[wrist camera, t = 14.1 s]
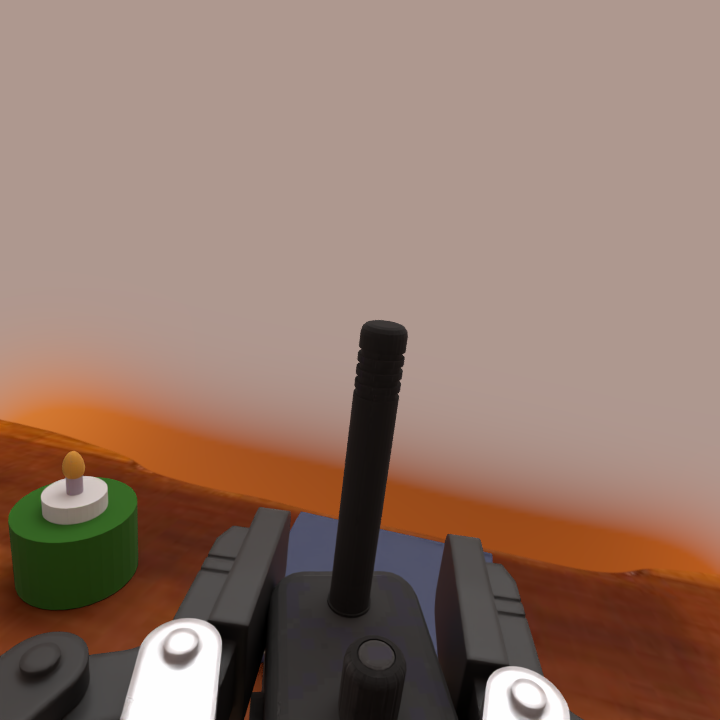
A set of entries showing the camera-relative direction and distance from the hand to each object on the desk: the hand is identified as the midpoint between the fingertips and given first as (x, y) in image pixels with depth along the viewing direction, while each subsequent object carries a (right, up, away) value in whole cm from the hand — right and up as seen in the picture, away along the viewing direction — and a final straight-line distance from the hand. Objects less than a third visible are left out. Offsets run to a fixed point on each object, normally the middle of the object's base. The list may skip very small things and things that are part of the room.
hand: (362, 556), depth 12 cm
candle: (-22, -12, +28) cm, 37 cm away
